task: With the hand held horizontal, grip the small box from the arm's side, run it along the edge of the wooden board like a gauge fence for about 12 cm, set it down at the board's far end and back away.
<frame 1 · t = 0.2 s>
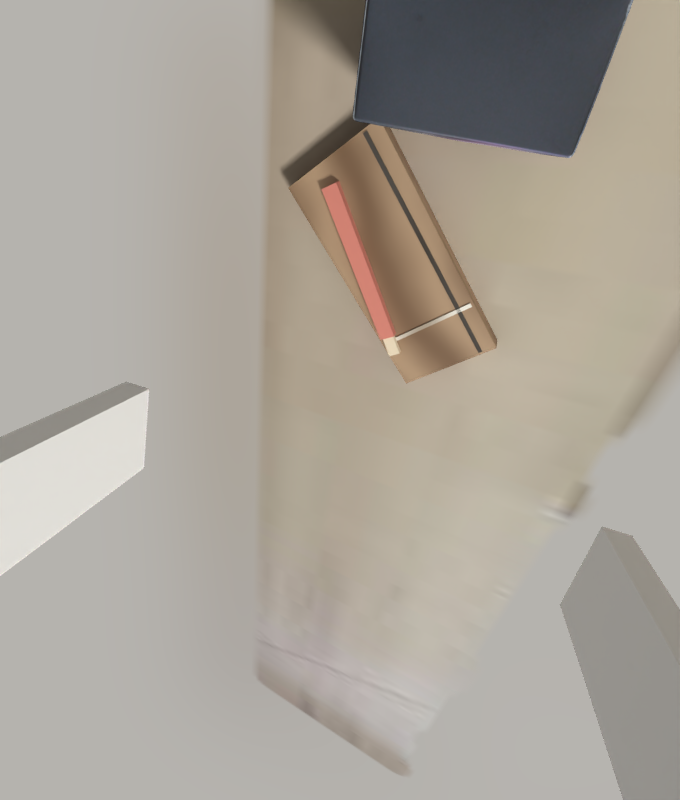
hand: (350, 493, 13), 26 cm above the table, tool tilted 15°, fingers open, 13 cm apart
carpenter pencil: (362, 264, 34), point 2 cm above the table, touching wooden board
wooden board: (398, 263, 35), on the table
small box: (487, 71, 27), on the table
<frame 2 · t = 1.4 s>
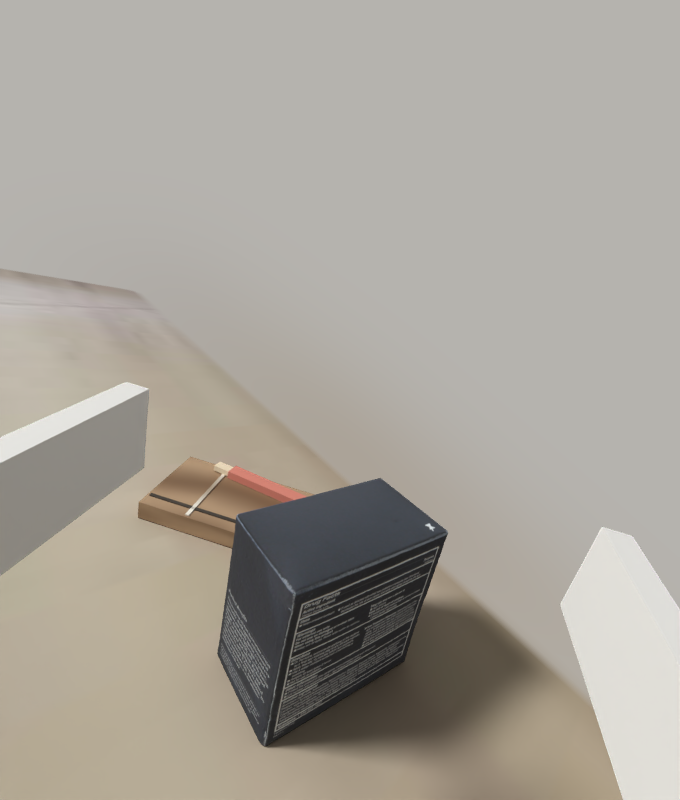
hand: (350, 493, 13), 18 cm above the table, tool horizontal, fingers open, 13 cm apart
carpenter pencil: (288, 500, 40), point 2 cm above the table, touching wooden board
wooden board: (261, 521, 39), on the table
small box: (312, 658, 28), on the table
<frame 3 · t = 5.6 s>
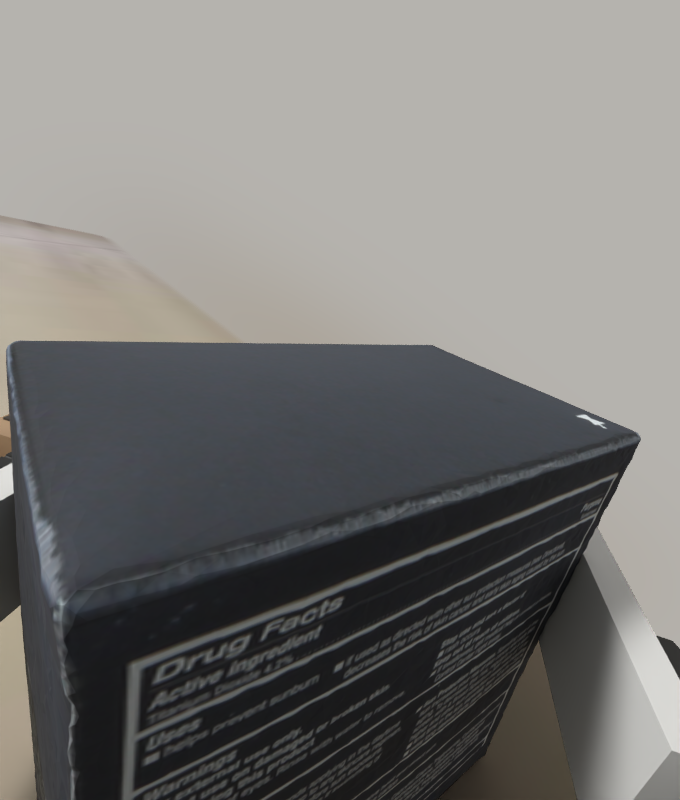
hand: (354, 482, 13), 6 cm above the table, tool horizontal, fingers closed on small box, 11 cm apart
wooden board: (208, 474, 23), on the table
small box: (275, 749, 12), on the table, touching gripper
when the fingers open (7 cm above the table, at t = 10.4 s): small box moves 1 cm, on the table.
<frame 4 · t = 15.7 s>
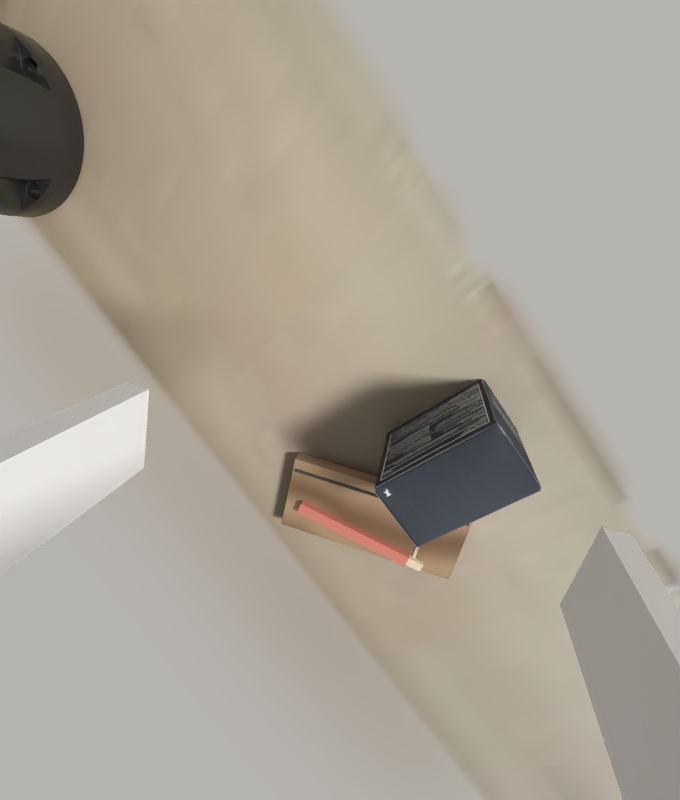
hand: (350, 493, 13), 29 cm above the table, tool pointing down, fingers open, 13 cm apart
carpenter pencil: (353, 531, 46), point 2 cm above the table, touching wooden board
wooden board: (374, 511, 46), on the table
small box: (450, 433, 42), on the table
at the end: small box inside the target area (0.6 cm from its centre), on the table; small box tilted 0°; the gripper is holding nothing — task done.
